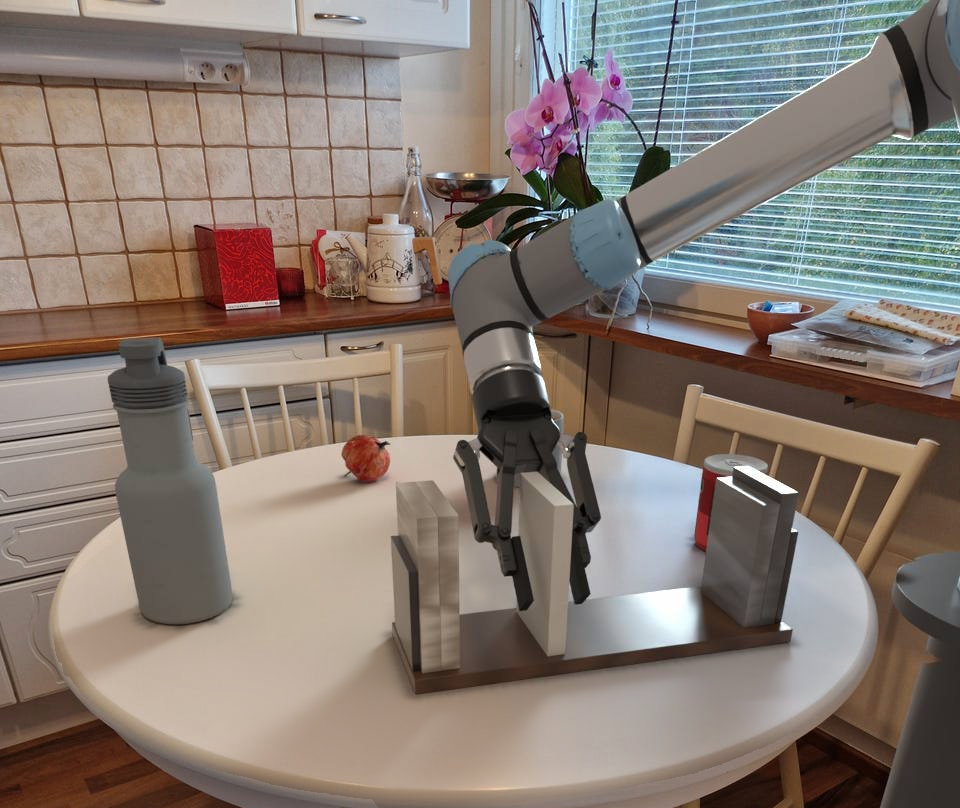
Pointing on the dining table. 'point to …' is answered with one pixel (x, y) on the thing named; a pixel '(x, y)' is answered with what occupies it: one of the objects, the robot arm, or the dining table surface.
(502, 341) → the robot arm
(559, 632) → the white book
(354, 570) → the dining table surface
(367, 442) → the pomegranate
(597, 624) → the book shelf
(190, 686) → the dining table surface
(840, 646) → the dining table surface
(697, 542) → the canned food
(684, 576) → the dining table surface
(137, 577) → the water bottle
